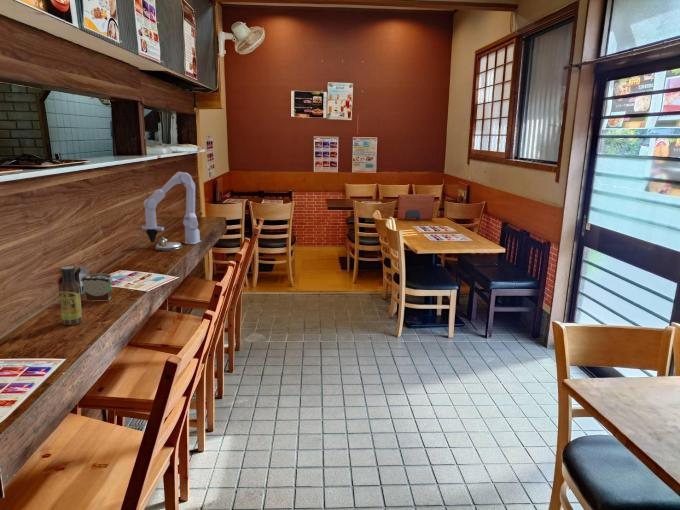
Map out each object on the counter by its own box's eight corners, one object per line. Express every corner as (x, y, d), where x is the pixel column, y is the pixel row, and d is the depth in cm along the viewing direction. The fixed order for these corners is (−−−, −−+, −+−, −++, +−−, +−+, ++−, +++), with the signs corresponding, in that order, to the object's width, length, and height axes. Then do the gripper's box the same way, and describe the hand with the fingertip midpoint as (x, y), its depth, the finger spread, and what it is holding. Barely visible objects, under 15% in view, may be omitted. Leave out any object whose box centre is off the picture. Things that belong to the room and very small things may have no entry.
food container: (121, 297, 193) (118, 273, 191) (112, 302, 187) (110, 277, 185) (92, 296, 194) (89, 272, 192) (82, 300, 188) (80, 276, 186)
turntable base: (164, 245, 291) (163, 243, 291) (186, 246, 289) (186, 244, 289) (150, 250, 277) (150, 248, 277) (174, 251, 274) (174, 250, 274)
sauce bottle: (58, 325, 162) (51, 269, 158) (68, 319, 169) (62, 264, 164) (77, 326, 162) (70, 269, 158) (86, 319, 169) (80, 265, 164)
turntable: (164, 243, 290) (163, 235, 289) (185, 244, 288) (185, 237, 287) (151, 248, 277) (150, 240, 276) (173, 249, 275) (173, 241, 274)
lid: (161, 243, 286) (161, 236, 285) (169, 243, 285) (168, 237, 284) (157, 244, 281) (156, 238, 280) (164, 245, 280) (164, 238, 279)
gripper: (135, 219, 278) (137, 242, 281) (158, 220, 276) (160, 243, 279) (142, 218, 285) (144, 240, 288) (165, 219, 282) (166, 241, 286)
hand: (152, 241), depth 284 cm, fingers closed
